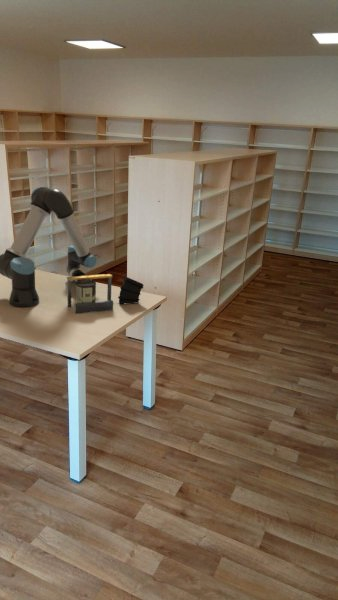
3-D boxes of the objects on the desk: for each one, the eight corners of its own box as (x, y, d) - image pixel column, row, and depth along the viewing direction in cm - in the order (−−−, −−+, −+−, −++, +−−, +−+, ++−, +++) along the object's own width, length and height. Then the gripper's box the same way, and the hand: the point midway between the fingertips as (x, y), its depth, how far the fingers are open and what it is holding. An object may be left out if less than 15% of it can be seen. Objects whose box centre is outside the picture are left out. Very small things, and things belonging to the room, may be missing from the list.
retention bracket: (72, 314, 222) (72, 283, 217) (67, 306, 232) (66, 276, 226) (116, 309, 233) (117, 280, 227) (109, 302, 242) (110, 273, 236)
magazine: (113, 300, 241) (125, 276, 239) (132, 307, 248) (144, 284, 245) (115, 302, 238) (127, 278, 236) (135, 310, 244) (147, 286, 242)
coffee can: (88, 302, 239) (88, 278, 234) (99, 308, 232) (100, 283, 227) (72, 306, 232) (72, 281, 227) (83, 312, 225) (83, 287, 220)
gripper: (88, 281, 263) (99, 294, 243) (66, 282, 258) (76, 295, 238) (88, 269, 260) (99, 281, 241) (66, 270, 255) (76, 283, 235)
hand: (88, 288), depth 239 cm, fingers closed
